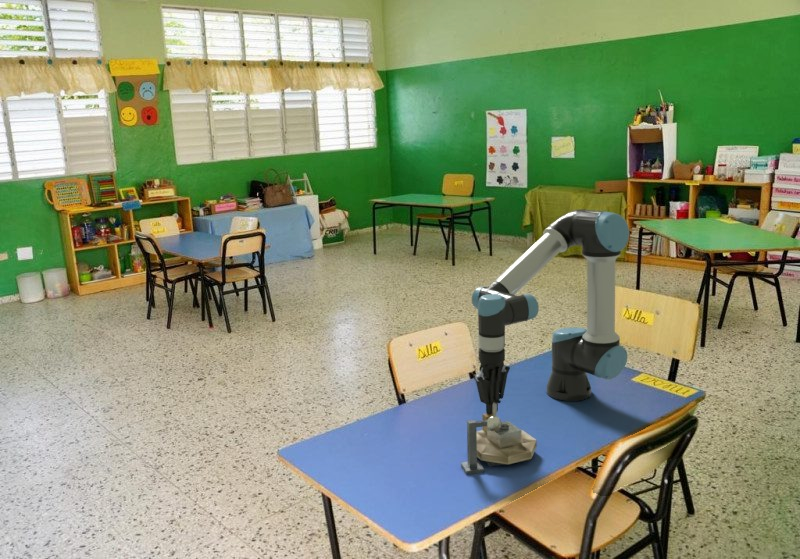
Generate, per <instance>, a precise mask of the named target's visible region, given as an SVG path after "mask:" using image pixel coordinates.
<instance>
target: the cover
mask: <svg viewBox="0 0 800 559" xmlns="http://www.w3.org/2000/svg"><path fill="white" fill-rule="evenodd" d="M501 422H502V425H501V427H500V429H498V430H497V431H491V430H489V429H488V427H487V439H488V440H490V441H491V442H492V443H493V444H495V445H496V446H497V447H499V448H500V449H501V448H505V447H509V446H513V445H517V444H521V430H522V429H520V428H519V427H517V426H516V425H515V424H513V423H512V422H510V421H509V420H506V421H501Z"/></svg>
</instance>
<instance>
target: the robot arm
mask: <svg viewBox="0 0 800 559" xmlns="http://www.w3.org/2000/svg"><path fill="white" fill-rule="evenodd" d="M629 239H630V229H629V224H628V222H627V221H626V219H625V218H624V217H623V216H622V215H621V214H619V213H615V212H612V211H607V210H606V211H605V210H593V209H592V210H589V209H582V208H581V209H575V210H572V211H568V212H567V213H565V214H562V216H560V217H558V218H557V219H556V220H554V221H552V223H550V224H549V225H548V226H546V227H545V229H544V230H543V232H542V236H541V237H539V239H537V240H536V241H535V243H533V244H532V245H530V247H529V248H528V249H526V251H525V252H523V253H522V254H521V255H520V256H519V257H518V258H517V259H516V260H515V261H513V263H511V265H510V266H508V267H507V269H506V270H504V271H503V272H502V273H501V274H500V275H499V276H498V277H497V278H495V279H494V280H493V281H492V283H490V284H489V285H488V286H479V287H476V288H475V289H474V290H473V292H472V294H471V304H472V306H473V307H474V308H475V309H477V319H478V321H477V322H478V323H477V324H478V361H479V363H480V366H479V368H478V369H479V372H477V374H473V380H474V382H475V383H476V387H477V391H478V396H479V400H480V403H483V404H485V413H488V414H492V415H494V416H497V417H498V414H497V413H498V410H499V408H498V407H499V404H501V402H502V400H501V399H503V398H504V396H505V395H504V394H505V388H506V383H507V377H508V375H509V372H510V369H511V367H510V366H509V365H505V363H504V362H505V360H506V350H505V347H506V326H510V325H513V324H518V323H522V322H527V321H529V320H533V319H534V318H536V317H537V316H538V314H539V310H540V309H539V303H538V302H539V301H538V300H537V298H536V297H535V296H534V295H532V294H521V295H516V294H517V293H518V292H519V291H520V290H521V289H523V287H525V286H526V285H527V284H528V283H529V282H530V281H531V280H532V279H533V278H534V277H535V276H536V275H537V274H538V273H539V272H540V271H541V270H542V269H543V268H544V267H545V266H546V265H548V264H549V263H550V262H551V261H552V260H553V259H554V258H555V257H557V255H558V254H559V253H565V252H566V251H567V250H568V249H570V248H571V247H575V246H579V247H580V246H581V254H582V257H584V258H585V260H586V265H587V266H586V278H587V279H586V284H587V285H586V291H587V292H586V312H587V313H586V326H587V327H586V328H583V327H565V328H564V327H563V328H559V329H556V330H555V331H554V332H553V333H552V341H551V373H550V375H549V377H548V378H549V379H547V384H546V394H547V395H548V396H549V397H551V398H552V399H556V400H558V401H564V402H565V401H566V402H578V401H579V400H580V401H584V399H585V400H587V399H589V398H590V397H591V396H592V386H591V382H590V380H589V377H588V374H589V375H592V376H595V377H596V378H599V379H604V380H614V379H615V378H617V377H618V376H619V375H620V374H622V372H623V370H625V367H626V365H627V363H628V351H627V350H626V349H625V347H624V346H622V345H620V342H621V340H620V335H619V334H618V333H617V332H616V326H615V325H616V260H617V259H618V258H619V257H620V256H621V254H622V252H621V251H622V250H624V249H625V248H626V246H627V245H628V244H627V243H628V242H629ZM588 397H589V398H588Z"/></svg>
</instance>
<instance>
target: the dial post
mask: <svg viewBox="0 0 800 559" xmlns="http://www.w3.org/2000/svg"><path fill="white" fill-rule="evenodd" d="M502 422H503V421H502V420H501V419H500V417H499V416H498V415H497V416H491V417H489V418H488V420H483V419H481V420H475V419H467V420H466V435H467V436H466V440H467V442H466V443H467V445H466V446H467V461H462V462H460V467H461V468H462V470H463V471H464V473H465V475H473V474H479V473H484V472H485V468H484V466H483V465H482V464H481V461H479V460H478V457H477V431H478V430H477V428H483V426H487V427H488V429H489V430H491V431H497V430H498V429H500V427H501V425H502Z"/></svg>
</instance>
